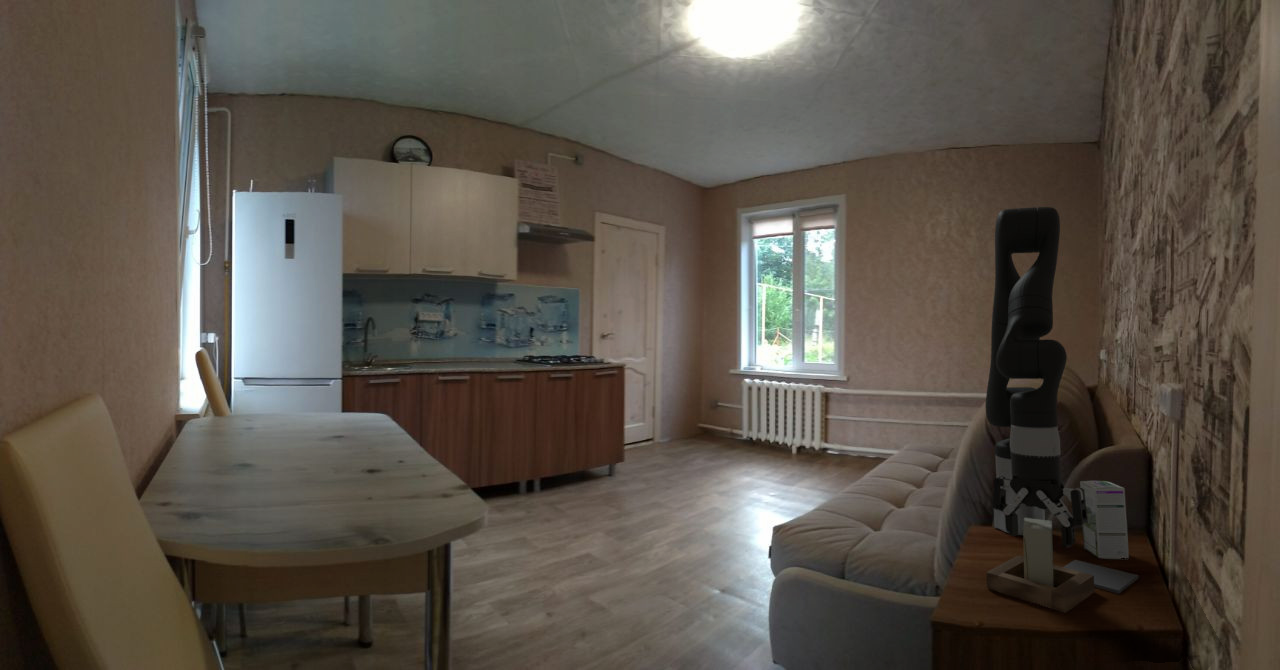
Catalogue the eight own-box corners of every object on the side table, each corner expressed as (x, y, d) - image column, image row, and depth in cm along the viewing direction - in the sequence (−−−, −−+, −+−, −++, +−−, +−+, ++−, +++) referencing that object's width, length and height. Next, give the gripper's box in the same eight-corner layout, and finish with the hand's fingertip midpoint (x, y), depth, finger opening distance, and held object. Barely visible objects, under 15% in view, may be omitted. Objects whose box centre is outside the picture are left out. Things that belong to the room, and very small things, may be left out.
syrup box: (1130, 559, 118) (1127, 487, 118) (1096, 558, 119) (1093, 487, 119) (1113, 549, 124) (1110, 480, 124) (1081, 548, 125) (1078, 480, 125)
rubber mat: (1053, 576, 112) (1053, 572, 112) (1075, 562, 118) (1075, 559, 118) (1118, 593, 104) (1118, 590, 104) (1138, 578, 109) (1138, 575, 109)
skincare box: (1026, 581, 110) (1023, 516, 110) (1055, 586, 108) (1052, 520, 108) (1024, 594, 105) (1021, 526, 105) (1054, 600, 103) (1051, 530, 103)
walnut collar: (987, 588, 108) (986, 572, 108) (1018, 570, 115) (1017, 555, 115) (1065, 613, 98) (1064, 595, 98) (1094, 592, 105) (1093, 575, 105)
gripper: (1090, 452, 103) (1094, 546, 102) (1002, 443, 114) (1006, 527, 114) (1072, 458, 98) (1077, 556, 98) (983, 448, 110) (987, 535, 110)
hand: (1039, 540), depth 106 cm, fingers open, 8 cm apart
